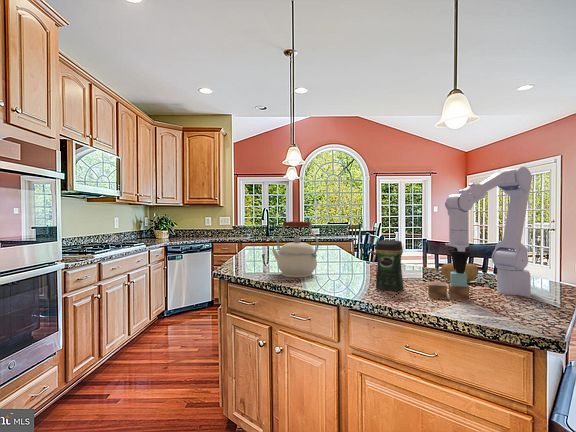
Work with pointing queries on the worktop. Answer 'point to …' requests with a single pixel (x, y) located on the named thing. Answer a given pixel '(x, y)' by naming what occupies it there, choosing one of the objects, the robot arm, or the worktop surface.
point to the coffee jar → (389, 265)
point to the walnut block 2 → (458, 292)
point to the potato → (469, 270)
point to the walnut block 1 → (437, 290)
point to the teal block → (458, 279)
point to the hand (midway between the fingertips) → (458, 271)
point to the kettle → (296, 254)
